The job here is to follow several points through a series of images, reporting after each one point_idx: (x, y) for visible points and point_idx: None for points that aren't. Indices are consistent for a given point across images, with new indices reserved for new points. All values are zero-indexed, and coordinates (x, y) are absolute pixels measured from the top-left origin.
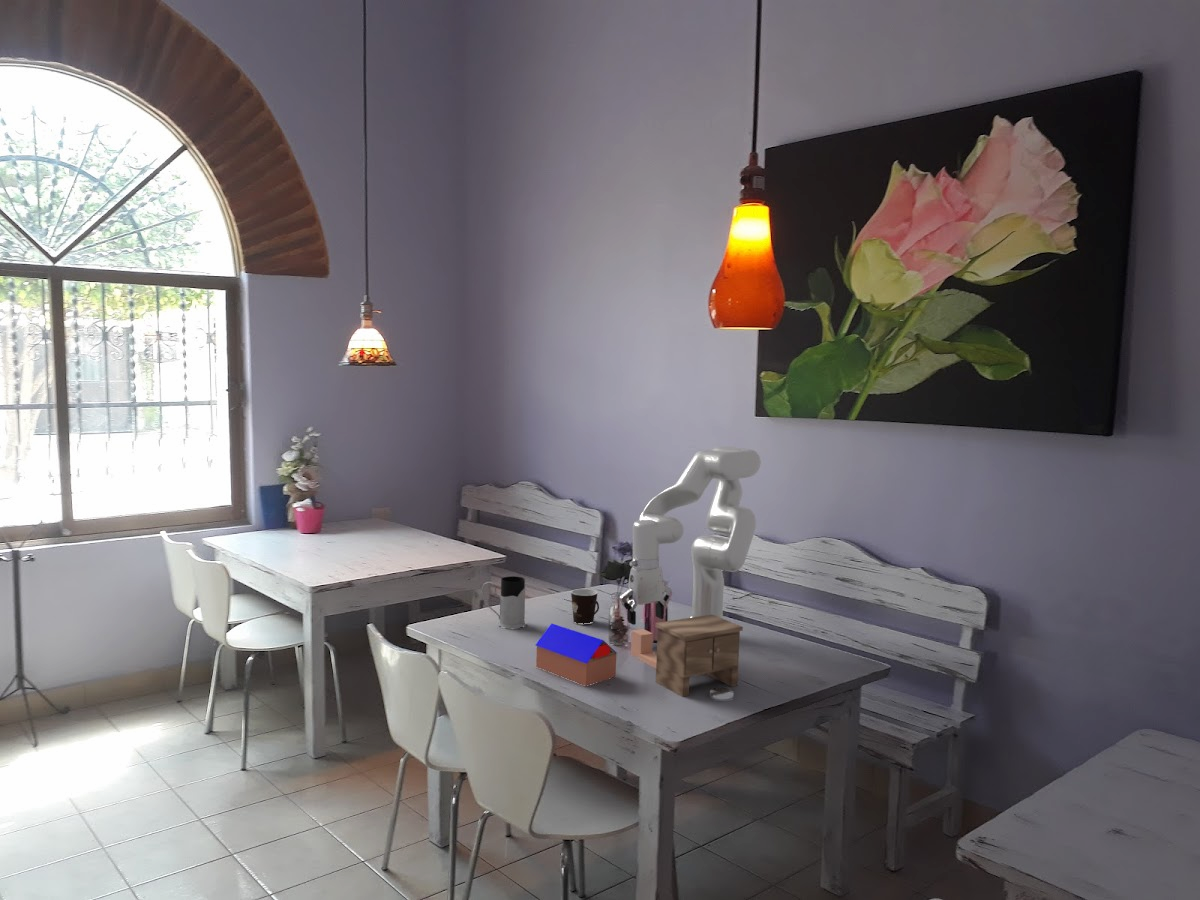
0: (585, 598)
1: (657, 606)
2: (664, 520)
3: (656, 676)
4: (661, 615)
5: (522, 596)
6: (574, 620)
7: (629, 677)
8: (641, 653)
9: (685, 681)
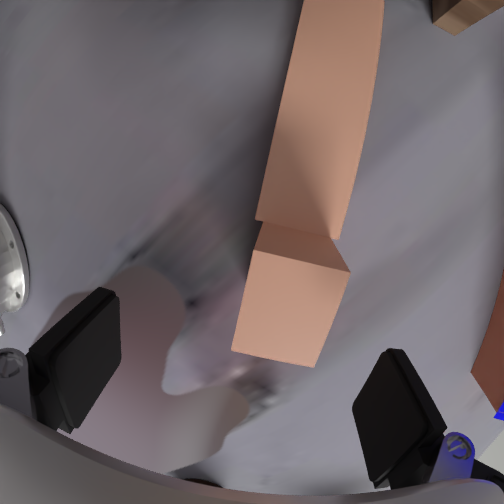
0: None
1: (77, 400)
2: None
3: (464, 27)
4: (102, 306)
5: None
6: None
7: (493, 127)
8: (325, 237)
9: None
